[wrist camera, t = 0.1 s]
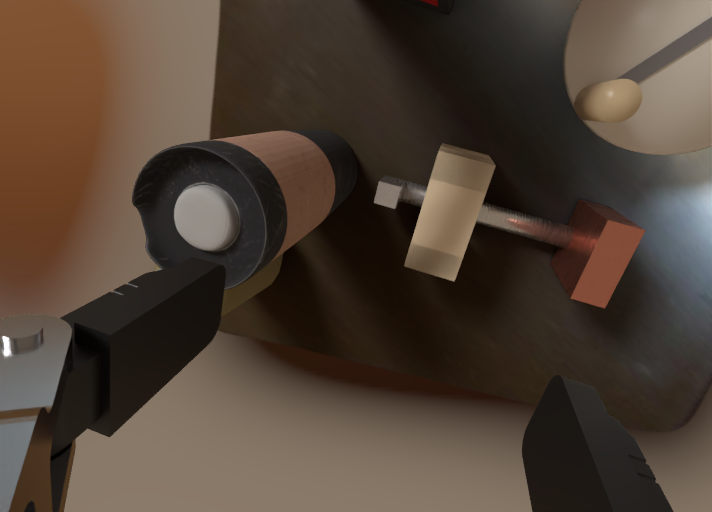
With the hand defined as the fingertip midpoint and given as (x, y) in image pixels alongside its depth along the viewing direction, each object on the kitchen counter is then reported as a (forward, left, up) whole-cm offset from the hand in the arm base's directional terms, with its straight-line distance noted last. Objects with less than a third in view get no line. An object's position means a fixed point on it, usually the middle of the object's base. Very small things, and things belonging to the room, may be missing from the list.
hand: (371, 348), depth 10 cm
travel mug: (+2, -10, -29) cm, 31 cm away
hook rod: (+2, +5, -29) cm, 29 cm away
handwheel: (-13, +13, -26) cm, 32 cm away
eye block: (+2, +2, -29) cm, 29 cm away
